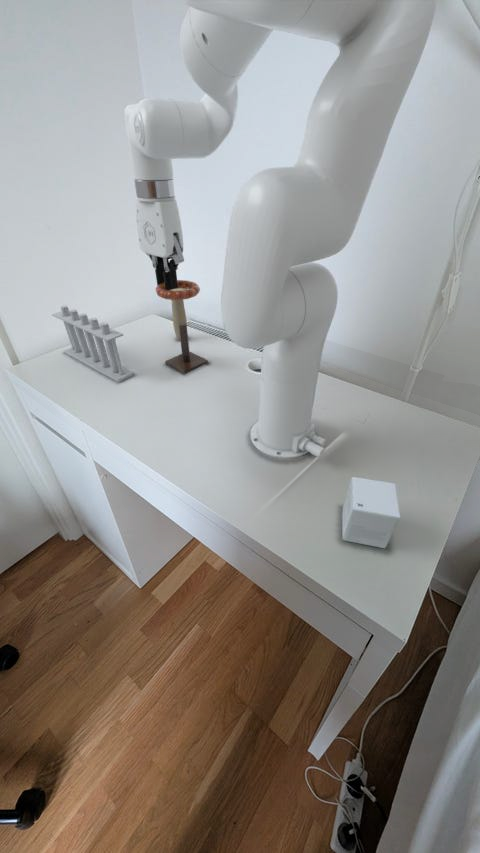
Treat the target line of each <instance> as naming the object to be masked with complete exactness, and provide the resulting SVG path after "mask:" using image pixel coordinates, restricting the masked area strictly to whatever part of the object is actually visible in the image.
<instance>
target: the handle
mask: <svg viewBox="0 0 480 853" xmlns="http://www.w3.org/2000/svg"><path fill="white" fill-rule="evenodd" d="M183 290H188V289H181V288H179V289H172V290H169V291H183ZM171 314H172V325H173V330H174V333H175V337H176V340H177V341H179V342H180V334H179V326H178V324H179V323H181V322H185V323H186V324H187V325H188V322H187V314H186V308H185V303H184V299H183V300H171Z"/></svg>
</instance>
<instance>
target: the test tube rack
mask: <svg viewBox="0 0 480 853" xmlns="http://www.w3.org/2000/svg"><path fill="white" fill-rule="evenodd" d="M60 310H61V311H58V312H55V313H52V314H51V316H52V317H54V318H56V319H59V320H61V321H62V322H63V324H64V328H65V330H66V333H67V336H68V340H69V342H70V345H71V347H70V348H68V349H64V353H65V354H66V355H68V356H70V357H72V358H73V359H75V360H77V361H79V362H80V363H83V364H84V365H86V366H88V367H90V368H92V369H94V370H95V371H97V372H98V373H100V374H102V375H105V376H106V377H107V378H110V379H111V380H113V381H115V382H116V383H120V382H123V381H124V380H126V379H129V378H131V377H133V376H134V372H133V371H130V370H129V369H127V368H125V367H123V366H122V362H121V357H120V354H119V351H118V346H117V342H116V339H118V338H121V337H123V336H124V335H125V334H124V333H123V332H121V331H118V330H116V329H113V328H111V327H110V325H109V323H108V322H106V321H104V322H99V320H98V319H97V318H96V317H91V318H89V316H88V315H87V313H80V314H79V312H78V310H77V309H70V310H69V307H68V305H61V306H60Z"/></svg>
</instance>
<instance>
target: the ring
mask: <svg viewBox="0 0 480 853" xmlns="http://www.w3.org/2000/svg"><path fill="white" fill-rule="evenodd" d="M177 283H178V287H177V288H176V289H179V288H181V289H187V290H183V291H167V290H166V289H165V283H161V284H160V285H158V286H157V285H156V287H155V292H156V295H157V296H158V297H159V298H161V299H165V300H168V301H169V300H183V301H184V300H189V299H191V298H195V297H196V296H197V295H198V294H199V293H200V291H201V288H200V287H199V285H198V284H197V282H194V281H191V280H184V279H177Z"/></svg>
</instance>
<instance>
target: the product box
mask: <svg viewBox="0 0 480 853" xmlns="http://www.w3.org/2000/svg"><path fill="white" fill-rule="evenodd" d="M341 511H342V512H341V514H342V515H341V524H342V525H341V526H342V527H341V529H342V530H341V533H342V541H345V542H351V543H355V544H360V545H365V546H369V547H370V546H371V547H375V548H381V549H387V546H388V544H389V542H390V540H391V539H392V536H393V533H394V532H395V529H396V528H397V525H398V523H399V521H400V520H401V510H400V503H399V497H398V490H397V485H396V483H393V482H387V481H382V480H375V479H369V478H362V477H356V476H352V477H351V479H350V482H349V486H348V489H347V492H346V495H345V500H344V503H343V505H342V510H341Z"/></svg>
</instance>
